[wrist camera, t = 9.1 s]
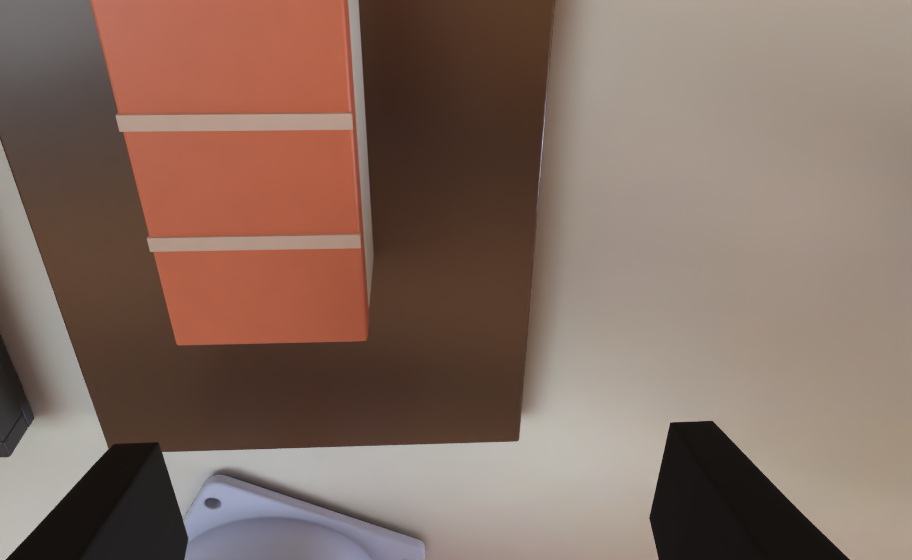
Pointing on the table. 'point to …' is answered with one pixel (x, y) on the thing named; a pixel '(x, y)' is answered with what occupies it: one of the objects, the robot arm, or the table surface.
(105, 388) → the serving board
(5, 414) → the sushi tray
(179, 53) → the salmon nigiri
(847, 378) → the table surface
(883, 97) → the table surface
